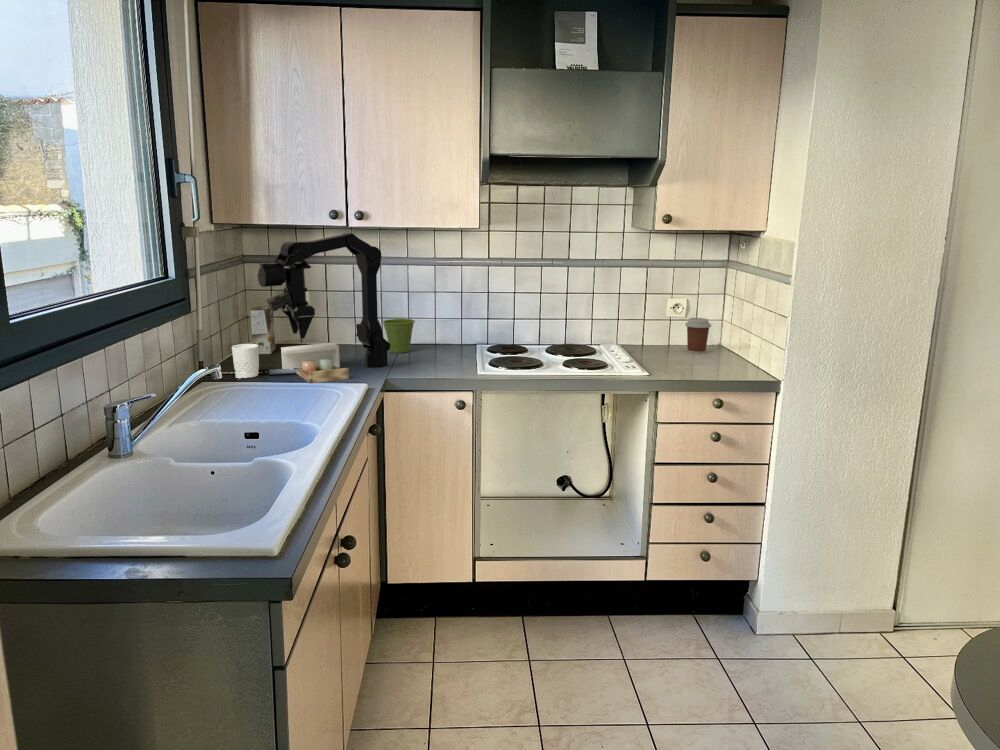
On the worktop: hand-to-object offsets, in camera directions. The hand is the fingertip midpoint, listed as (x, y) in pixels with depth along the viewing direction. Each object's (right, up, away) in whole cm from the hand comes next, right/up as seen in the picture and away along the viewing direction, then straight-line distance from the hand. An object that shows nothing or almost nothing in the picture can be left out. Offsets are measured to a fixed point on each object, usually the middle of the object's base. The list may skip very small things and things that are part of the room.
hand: (298, 335), depth 228 cm
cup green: (+6, -11, +10) cm, 16 cm away
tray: (+6, -13, +5) cm, 15 cm away
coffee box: (-24, -4, +45) cm, 51 cm away
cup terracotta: (+1, -12, +7) cm, 14 cm away
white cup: (-18, -13, +6) cm, 23 cm away
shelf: (0, -11, +15) cm, 19 cm away
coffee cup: (+133, -3, +48) cm, 141 cm away
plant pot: (+24, -3, +46) cm, 53 cm away
